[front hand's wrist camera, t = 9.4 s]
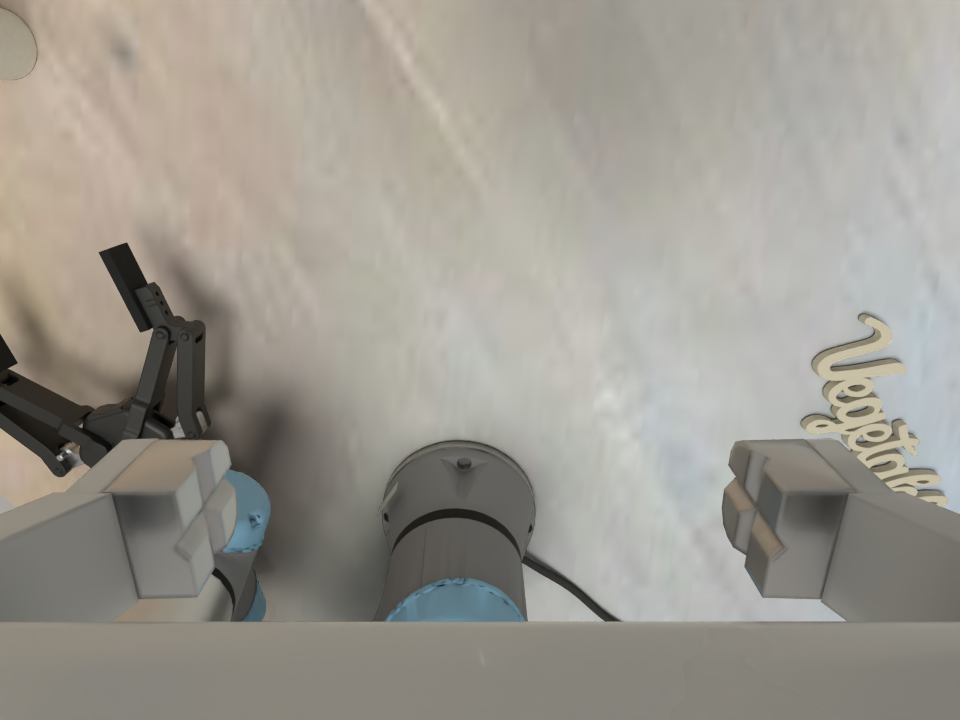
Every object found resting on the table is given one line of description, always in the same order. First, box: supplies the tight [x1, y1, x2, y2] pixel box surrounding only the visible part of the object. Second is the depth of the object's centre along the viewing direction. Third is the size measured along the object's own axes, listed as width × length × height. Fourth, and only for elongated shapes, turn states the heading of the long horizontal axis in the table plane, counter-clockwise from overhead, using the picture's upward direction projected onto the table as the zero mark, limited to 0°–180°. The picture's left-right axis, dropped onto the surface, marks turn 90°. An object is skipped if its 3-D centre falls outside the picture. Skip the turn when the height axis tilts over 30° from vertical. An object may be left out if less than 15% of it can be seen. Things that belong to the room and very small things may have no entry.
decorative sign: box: [801, 314, 948, 507], centre depth 60 cm, size 26×1×10 cm
